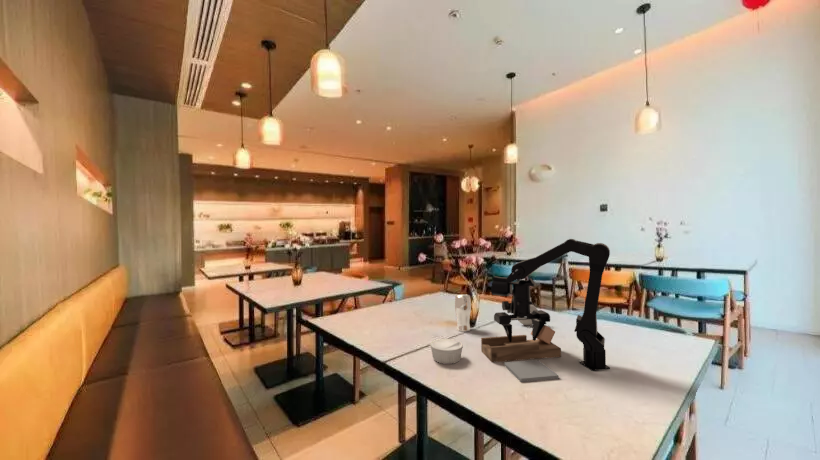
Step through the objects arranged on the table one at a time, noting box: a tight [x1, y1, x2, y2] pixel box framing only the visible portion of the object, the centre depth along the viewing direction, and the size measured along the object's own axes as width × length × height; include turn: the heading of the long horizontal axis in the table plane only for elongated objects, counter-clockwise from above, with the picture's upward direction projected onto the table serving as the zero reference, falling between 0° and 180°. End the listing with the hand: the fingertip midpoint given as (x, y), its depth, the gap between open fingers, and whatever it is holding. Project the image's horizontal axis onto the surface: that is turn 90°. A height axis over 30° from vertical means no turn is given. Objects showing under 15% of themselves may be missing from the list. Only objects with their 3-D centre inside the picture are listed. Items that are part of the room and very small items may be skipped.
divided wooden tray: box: [480, 334, 562, 363], centre depth 120 cm, size 10×25×5 cm, turn 98°
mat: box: [503, 359, 560, 383], centre depth 106 cm, size 12×12×1 cm
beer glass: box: [454, 293, 472, 333], centre depth 149 cm, size 7×7×15 cm
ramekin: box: [429, 338, 464, 365], centre depth 118 cm, size 11×11×5 cm
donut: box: [517, 304, 538, 327], centre depth 153 cm, size 10×4×10 cm, turn 85°
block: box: [530, 324, 556, 344], centre depth 123 cm, size 5×5×5 cm
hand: (522, 341), depth 120 cm, fingers open, 9 cm apart
